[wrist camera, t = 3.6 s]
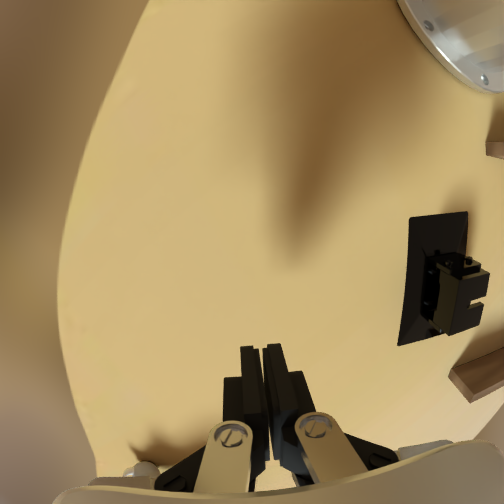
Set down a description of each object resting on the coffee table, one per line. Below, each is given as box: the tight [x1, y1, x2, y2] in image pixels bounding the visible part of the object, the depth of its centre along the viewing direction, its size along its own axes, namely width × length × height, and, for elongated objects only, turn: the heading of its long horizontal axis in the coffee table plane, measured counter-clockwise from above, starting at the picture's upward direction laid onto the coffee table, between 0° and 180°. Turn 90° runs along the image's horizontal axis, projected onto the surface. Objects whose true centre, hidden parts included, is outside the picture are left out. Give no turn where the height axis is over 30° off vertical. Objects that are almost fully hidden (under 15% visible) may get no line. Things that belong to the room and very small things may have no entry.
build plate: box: [397, 211, 490, 346], centre depth 15 cm, size 12×7×5 cm, turn 6°
